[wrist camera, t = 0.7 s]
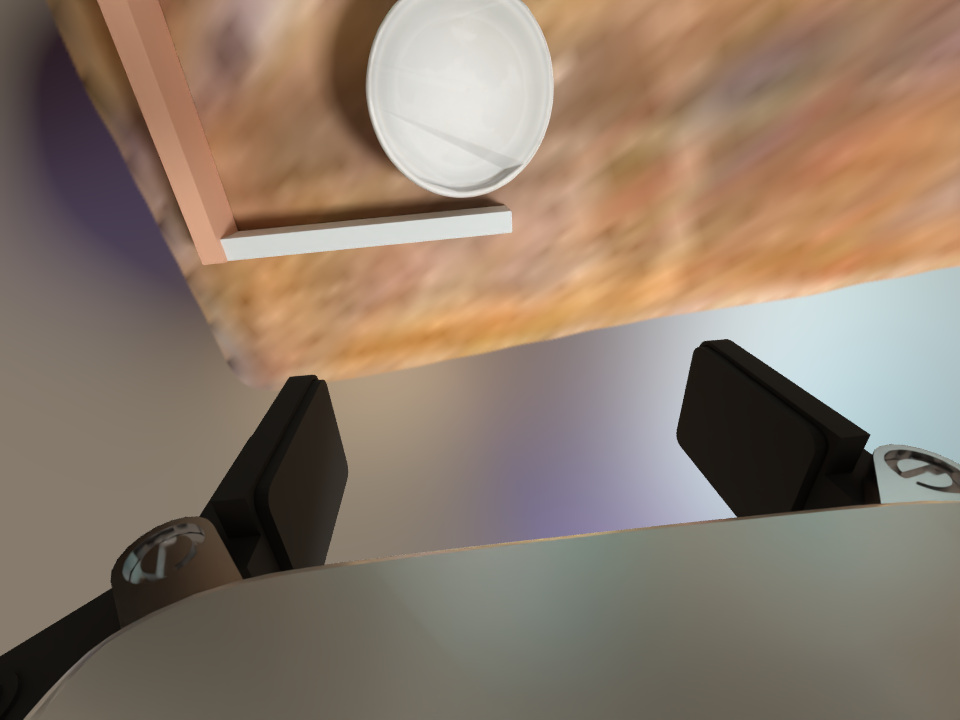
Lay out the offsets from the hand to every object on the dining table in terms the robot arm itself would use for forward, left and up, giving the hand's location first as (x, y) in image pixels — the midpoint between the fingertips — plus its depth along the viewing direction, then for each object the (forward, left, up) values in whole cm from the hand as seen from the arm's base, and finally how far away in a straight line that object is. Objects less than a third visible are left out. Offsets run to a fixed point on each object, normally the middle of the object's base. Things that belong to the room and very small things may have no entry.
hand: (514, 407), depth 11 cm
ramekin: (-8, 0, -26) cm, 27 cm away
